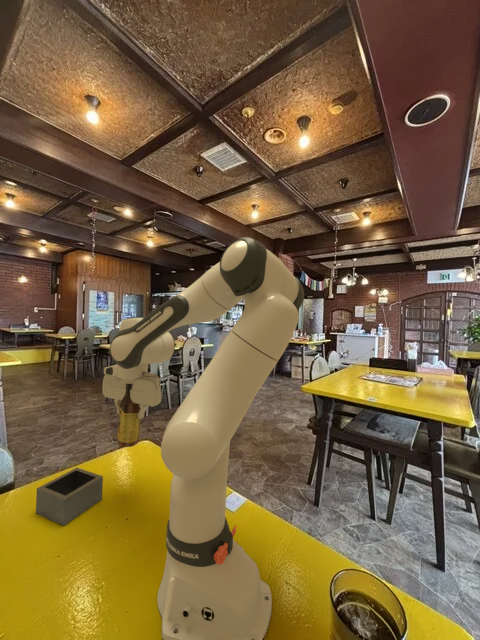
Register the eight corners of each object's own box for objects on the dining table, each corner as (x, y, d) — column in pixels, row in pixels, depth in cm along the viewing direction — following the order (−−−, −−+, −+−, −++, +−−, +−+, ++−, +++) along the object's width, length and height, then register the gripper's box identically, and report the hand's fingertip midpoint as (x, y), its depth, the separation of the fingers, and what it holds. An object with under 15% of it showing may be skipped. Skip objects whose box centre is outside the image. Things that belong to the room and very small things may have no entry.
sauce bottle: (122, 438, 89) (128, 375, 89) (142, 440, 88) (147, 377, 89) (112, 447, 82) (118, 379, 83) (133, 449, 82) (139, 381, 82)
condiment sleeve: (101, 499, 83) (102, 476, 83) (63, 526, 72) (64, 499, 72) (76, 489, 87) (76, 467, 87) (35, 513, 76) (36, 488, 76)
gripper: (167, 372, 84) (164, 418, 84) (115, 365, 92) (113, 407, 92) (152, 376, 78) (150, 425, 79) (99, 368, 86) (97, 412, 86)
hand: (130, 415), depth 85 cm, fingers closed on sauce bottle, 6 cm apart
